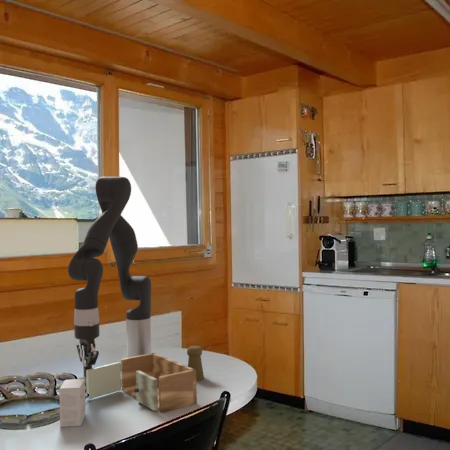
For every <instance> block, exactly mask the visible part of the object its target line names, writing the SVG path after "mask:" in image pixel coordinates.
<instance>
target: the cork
mask: <svg viewBox="0 0 450 450" xmlns="http://www.w3.org/2000/svg"><path fill="white" fill-rule="evenodd" d="M186 353H187V356H188V362H187V366H188V367H190V368H193V369H195V370H196V382H199V381H202V380H204V379H205V375H204V367H203V362H202V361H203V360H202V354H203V348H202V347H201V346H199V345H190V346H189V347H187V350H186Z"/></svg>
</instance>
